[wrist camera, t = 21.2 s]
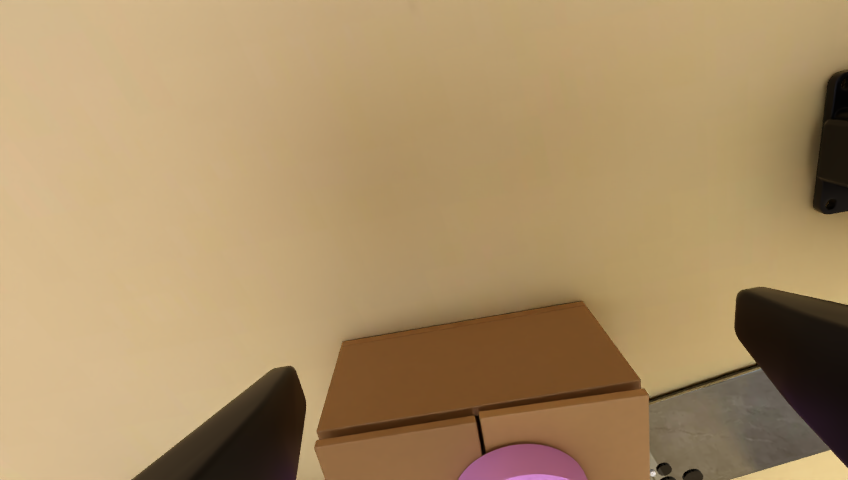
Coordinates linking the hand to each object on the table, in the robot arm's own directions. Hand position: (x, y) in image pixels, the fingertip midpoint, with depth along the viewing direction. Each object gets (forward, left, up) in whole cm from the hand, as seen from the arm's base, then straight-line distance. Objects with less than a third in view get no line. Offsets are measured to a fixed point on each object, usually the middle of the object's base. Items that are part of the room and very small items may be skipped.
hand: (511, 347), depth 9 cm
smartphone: (-15, +17, -13) cm, 26 cm away
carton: (+1, +15, -13) cm, 20 cm away
